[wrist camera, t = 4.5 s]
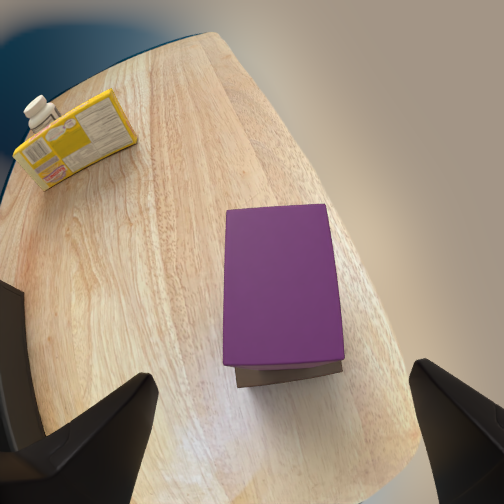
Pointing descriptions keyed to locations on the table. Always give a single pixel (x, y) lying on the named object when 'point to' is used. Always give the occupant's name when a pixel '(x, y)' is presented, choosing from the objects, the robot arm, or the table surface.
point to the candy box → (76, 140)
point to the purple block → (280, 289)
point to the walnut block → (283, 374)
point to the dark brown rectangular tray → (16, 377)
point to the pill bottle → (41, 114)
